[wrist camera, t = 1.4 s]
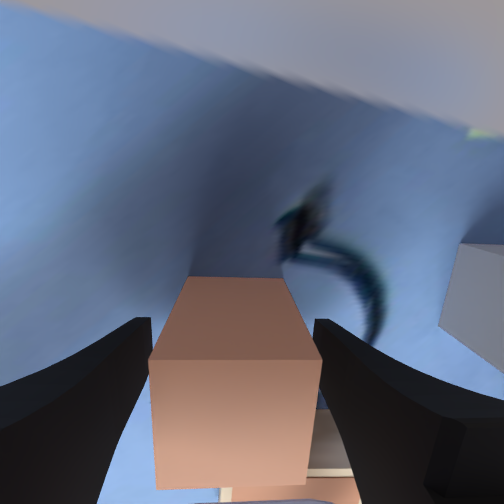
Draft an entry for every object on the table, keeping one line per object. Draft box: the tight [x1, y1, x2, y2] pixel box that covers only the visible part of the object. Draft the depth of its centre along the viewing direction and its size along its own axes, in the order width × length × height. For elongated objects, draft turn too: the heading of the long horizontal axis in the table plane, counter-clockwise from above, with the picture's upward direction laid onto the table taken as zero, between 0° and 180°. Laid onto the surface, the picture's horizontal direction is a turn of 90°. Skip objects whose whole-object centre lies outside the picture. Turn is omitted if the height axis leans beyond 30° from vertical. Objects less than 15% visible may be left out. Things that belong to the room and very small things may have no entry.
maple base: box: [218, 409, 362, 504], centre depth 14 cm, size 7×7×4 cm
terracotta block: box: [148, 276, 322, 490], centre depth 10 cm, size 4×4×6 cm
